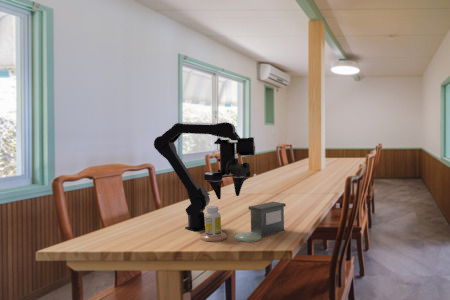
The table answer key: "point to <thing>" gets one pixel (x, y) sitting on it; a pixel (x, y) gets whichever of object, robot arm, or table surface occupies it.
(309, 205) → the table surface
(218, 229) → the supplement bottle
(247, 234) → the sage coaster
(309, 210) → the table surface
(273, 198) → the table surface
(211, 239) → the peach domed disc
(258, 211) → the box unit
